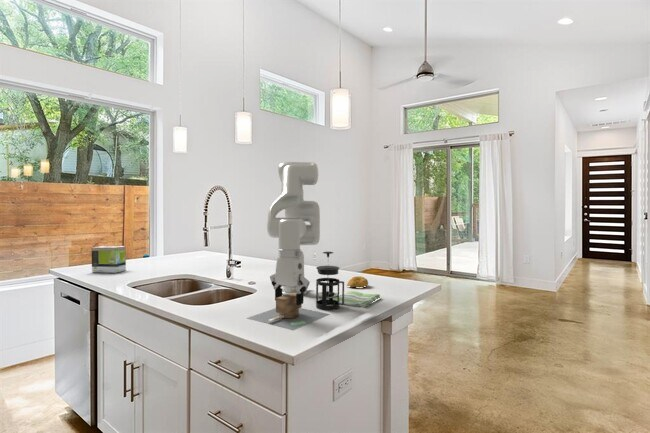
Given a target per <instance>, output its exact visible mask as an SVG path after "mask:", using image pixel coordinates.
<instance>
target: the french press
mask: <svg viewBox="0 0 650 433" xmlns="http://www.w3.org/2000/svg"><path fill="white" fill-rule="evenodd" d="M322 254H324V255H326V258H327V262H329V258H330V254H331V255H332V254H334V252H332V251H323V252H322ZM316 269H317V273H318V274H319V275H322V276H326V277H320V278H317V279H316V280H315V282H316V285H315V289H316V290H315V292H316V295H315V298H316V299H315V307H316V309H317V310H321V311H335V310H338V309H339V308H340V306H344V305H343V304H344V294H345V281H342V280H340V279H339V278H335V277H329V276H337V275H338V274H339V270H340V269H341V268H340V267H339V266H337V265H320V266H319V265H318V266H316ZM340 284H342V289H341V290H342V291H341V293H342V294H341V295H342V303H339V296H340ZM319 286H321V292H319ZM335 286H337V292H335V291H334V287H335ZM336 297H338V301H336V300H333V298H336ZM319 298H320V299H319Z"/></svg>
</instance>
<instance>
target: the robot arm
mask: <svg viewBox="0 0 650 433" xmlns="http://www.w3.org/2000/svg"><path fill="white" fill-rule="evenodd" d="M277 168H278V169H277V170H278V177H279V180H280V182H281V192H280V193H281V194H280V196H278V197H277V198H276V199H275V200H274V201H273V202H272V204H271V206H270V207H269V209H268V213H267V224H266V225H267V226H266V229H267V234H268V236H269V237H271V238H275V239H278V257H277V259H276V265H275V273H274V274H272V275H270V276H269V279H270V281H271V286H272V287H273V289H274V300H275V302H276V298H277V297H281V296H284V295H287V294H290V293H294V292H295V293H297V294H296V305H300V304H302V305H303V304H304V299H305V298H304V295H306V294H307V293H308V288H309V286H310V283H311V281H310V280H309V279H307V278H306V277H305V254H304V252H303V250H302V249H301V246H316V245H318V244H319V242H320V239H321V238H320V237H321V235H320V234H321V230H320V229H321V221H320V220H321V218H320V217H321V216H320V215H321V214H320V213H321V210H320V209H321V208H320V204H319V203H318V202H317V201H314V200H304V186H315V185H316V184H317V183H318V180H319V168H318V165H317V164H316V163H315V162H313V161H312V162H311V161H310V162H309V161H308V162H306V161H285V162H281V163H280V164H278V167H277ZM283 210H284V217H277V215H278V214H279V213H280V212H281V211H283ZM307 222H308V223H309V224H307Z"/></svg>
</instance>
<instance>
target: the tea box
mask: <svg viewBox="0 0 650 433" xmlns="http://www.w3.org/2000/svg"><path fill="white" fill-rule="evenodd" d="M126 252H127V251H126V245H99V246H94V247H91V272H92V273H109V274H110V273H111V274H115V273H120V272H124V271H126V270H127V267H126V266H127V264H126V263H127V262H126V261H127V260H126V259H127V258H126V257H127V256H126V255H127V254H126Z"/></svg>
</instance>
